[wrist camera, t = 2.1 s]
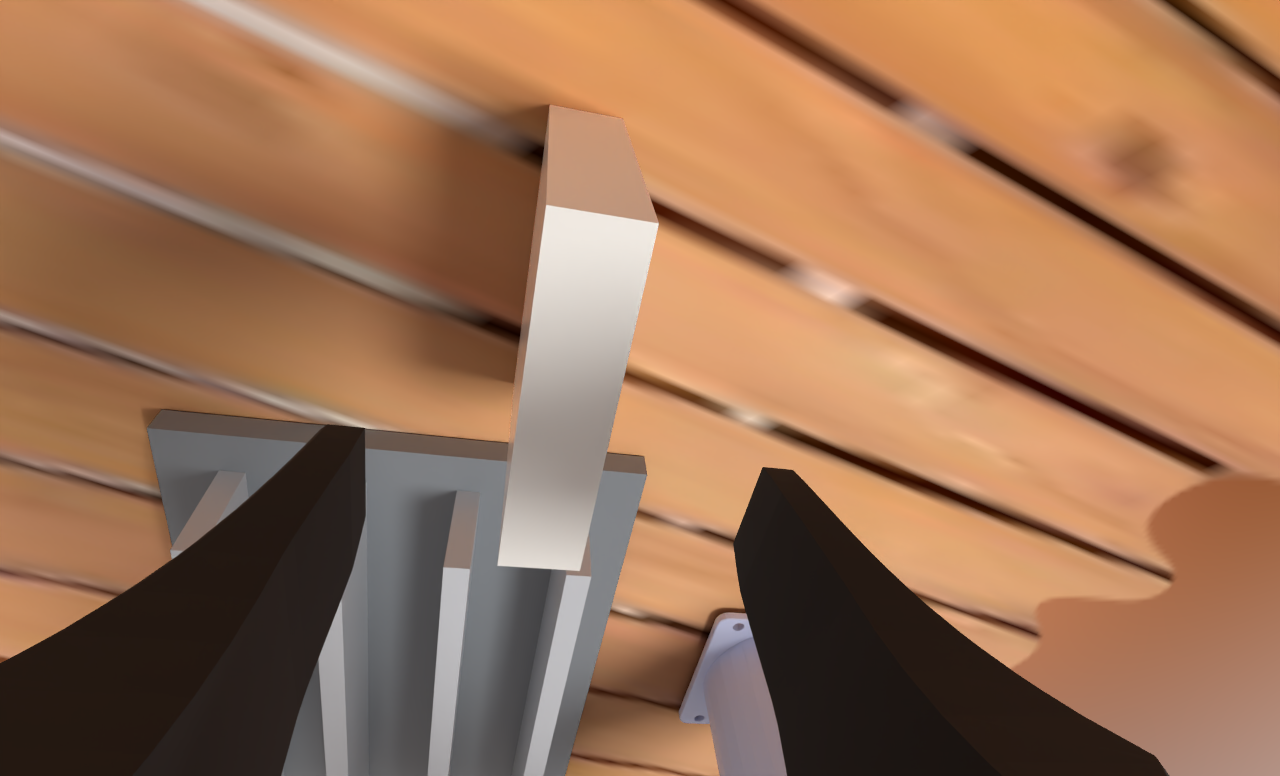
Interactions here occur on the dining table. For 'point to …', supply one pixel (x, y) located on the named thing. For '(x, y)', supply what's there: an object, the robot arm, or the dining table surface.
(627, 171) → the cream plate
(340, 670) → the dish rack
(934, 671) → the robot arm
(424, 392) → the dining table surface
